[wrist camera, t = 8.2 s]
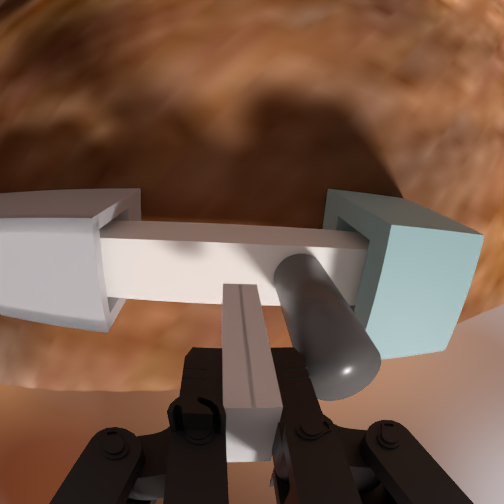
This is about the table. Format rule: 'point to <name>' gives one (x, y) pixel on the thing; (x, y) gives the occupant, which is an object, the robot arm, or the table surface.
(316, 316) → the sliding bolt with handle
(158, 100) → the table surface
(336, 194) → the socket block
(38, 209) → the white rectangular box
